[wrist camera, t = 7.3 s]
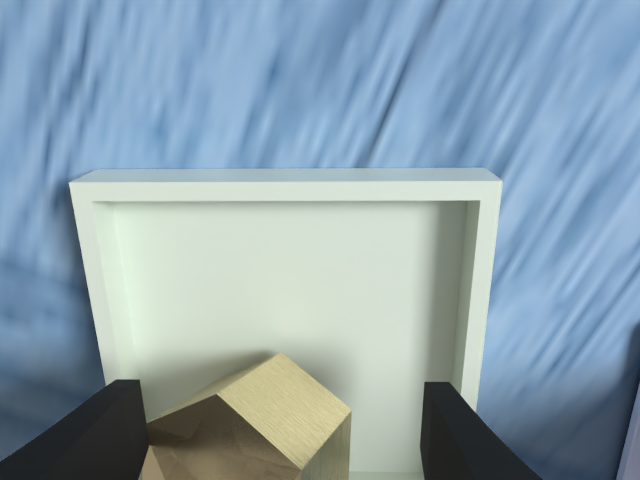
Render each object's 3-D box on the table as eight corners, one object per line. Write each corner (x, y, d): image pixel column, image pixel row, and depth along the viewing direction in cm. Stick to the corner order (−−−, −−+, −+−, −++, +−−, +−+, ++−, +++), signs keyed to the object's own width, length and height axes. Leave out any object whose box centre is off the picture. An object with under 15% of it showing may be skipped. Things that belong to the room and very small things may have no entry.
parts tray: (484, 167, 14) (502, 181, 13) (453, 475, 18) (464, 513, 16) (96, 169, 14) (68, 182, 13) (145, 471, 18) (128, 508, 17)
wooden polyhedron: (353, 365, 14) (302, 413, 11) (346, 537, 15) (295, 629, 12) (217, 340, 16) (141, 376, 13) (215, 495, 17) (142, 565, 14)
